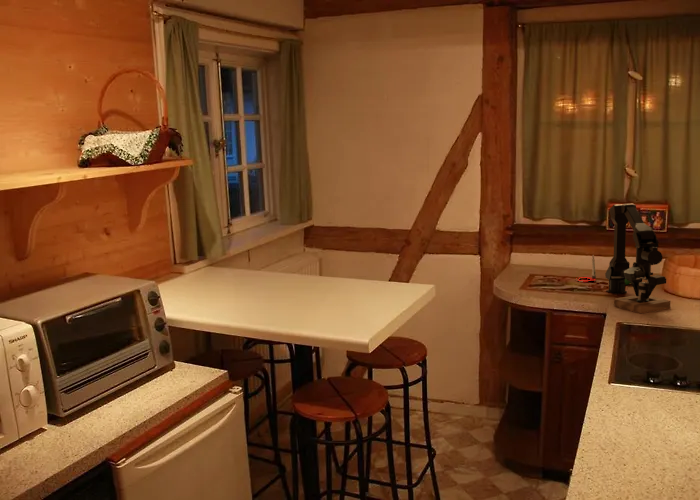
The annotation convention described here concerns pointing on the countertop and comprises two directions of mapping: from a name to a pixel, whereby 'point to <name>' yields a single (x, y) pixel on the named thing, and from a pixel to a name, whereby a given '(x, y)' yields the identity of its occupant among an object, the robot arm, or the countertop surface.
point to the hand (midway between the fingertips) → (642, 297)
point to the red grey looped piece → (592, 272)
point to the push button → (642, 293)
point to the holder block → (642, 304)
